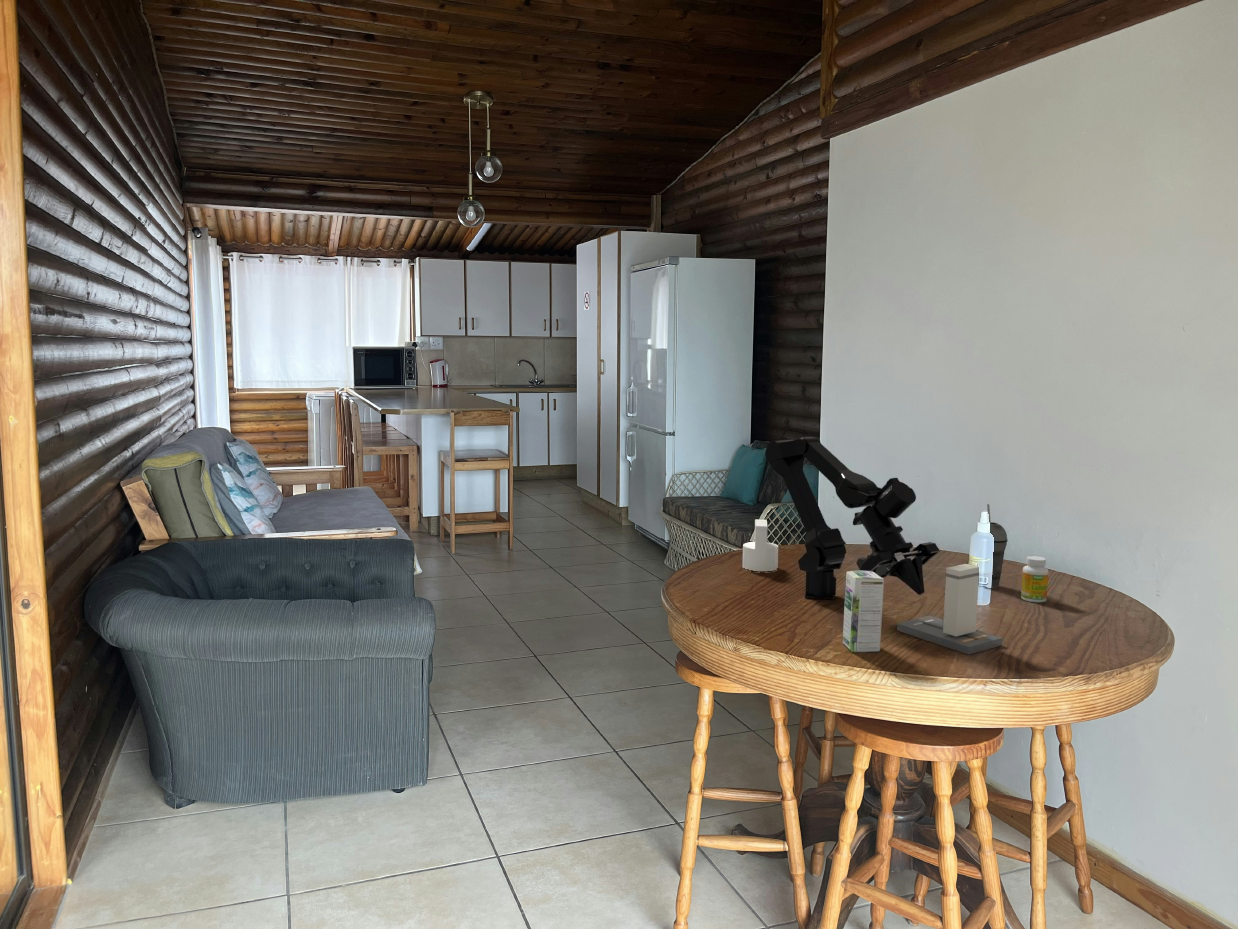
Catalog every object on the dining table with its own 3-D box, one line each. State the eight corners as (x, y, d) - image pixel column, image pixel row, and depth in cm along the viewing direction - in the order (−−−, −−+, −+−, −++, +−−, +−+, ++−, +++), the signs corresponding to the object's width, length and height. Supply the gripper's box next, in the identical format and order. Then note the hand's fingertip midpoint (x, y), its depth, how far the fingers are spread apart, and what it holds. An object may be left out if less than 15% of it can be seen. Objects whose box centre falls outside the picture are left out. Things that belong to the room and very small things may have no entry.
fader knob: (942, 632, 178) (946, 567, 176) (962, 627, 181) (966, 563, 179) (956, 636, 175) (959, 571, 173) (975, 631, 178) (979, 566, 176)
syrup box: (841, 643, 177) (844, 570, 175) (871, 642, 177) (874, 570, 175) (851, 653, 171) (854, 578, 169) (881, 652, 172) (885, 577, 170)
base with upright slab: (742, 563, 240) (743, 518, 239) (777, 564, 239) (778, 520, 238) (742, 571, 232) (743, 525, 230) (778, 573, 230) (779, 526, 229)
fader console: (897, 630, 185) (897, 623, 184) (929, 622, 190) (929, 615, 190) (968, 654, 170) (969, 646, 170) (1001, 645, 176) (1002, 637, 176)
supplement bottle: (1030, 603, 204) (1033, 561, 203) (1015, 596, 210) (1018, 555, 208) (1051, 602, 205) (1054, 560, 204) (1036, 595, 211) (1039, 554, 209)
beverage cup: (1007, 590, 215) (1013, 507, 212) (975, 589, 216) (980, 506, 213) (1001, 582, 222) (1006, 502, 219) (969, 581, 223) (974, 501, 220)
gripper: (889, 546, 203) (927, 606, 195) (830, 556, 193) (867, 620, 185) (920, 518, 195) (961, 579, 188) (860, 527, 185) (900, 592, 178)
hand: (921, 593), depth 185 cm, fingers closed
